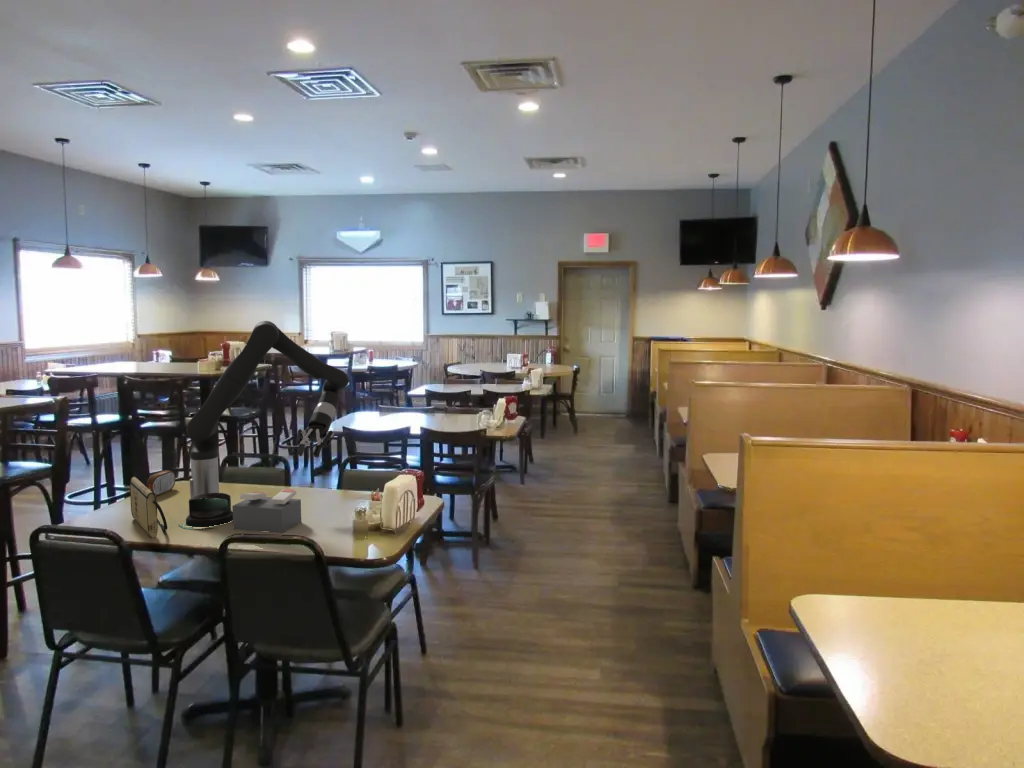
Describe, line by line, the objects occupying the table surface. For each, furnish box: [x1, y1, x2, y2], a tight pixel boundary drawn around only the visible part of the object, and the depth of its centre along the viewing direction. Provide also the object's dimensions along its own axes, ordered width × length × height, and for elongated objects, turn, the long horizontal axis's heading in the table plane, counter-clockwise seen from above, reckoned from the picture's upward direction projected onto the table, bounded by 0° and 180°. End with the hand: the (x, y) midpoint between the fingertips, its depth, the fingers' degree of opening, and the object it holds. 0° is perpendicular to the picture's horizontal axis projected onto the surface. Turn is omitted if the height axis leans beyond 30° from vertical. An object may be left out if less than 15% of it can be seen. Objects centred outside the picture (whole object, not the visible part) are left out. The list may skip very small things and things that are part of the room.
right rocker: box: [271, 488, 297, 504], centre depth 232 cm, size 8×4×2 cm, turn 167°
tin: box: [145, 469, 176, 497], centre depth 272 cm, size 15×3×8 cm, turn 172°
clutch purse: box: [129, 476, 168, 538], centre depth 231 cm, size 30×7×15 cm, turn 39°
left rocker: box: [239, 491, 267, 500], centre depth 232 cm, size 8×4×2 cm, turn 167°
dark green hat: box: [179, 492, 233, 530], centre depth 238 cm, size 20×20×9 cm
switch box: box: [231, 496, 302, 534], centre depth 232 cm, size 12×18×9 cm, turn 77°
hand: (307, 455), depth 246 cm, fingers open, 5 cm apart
